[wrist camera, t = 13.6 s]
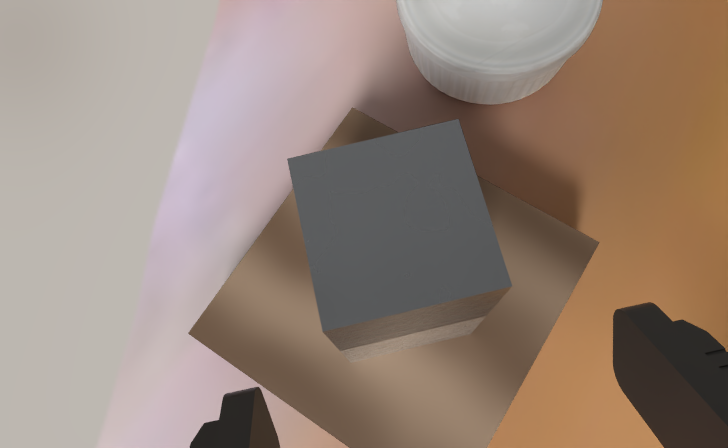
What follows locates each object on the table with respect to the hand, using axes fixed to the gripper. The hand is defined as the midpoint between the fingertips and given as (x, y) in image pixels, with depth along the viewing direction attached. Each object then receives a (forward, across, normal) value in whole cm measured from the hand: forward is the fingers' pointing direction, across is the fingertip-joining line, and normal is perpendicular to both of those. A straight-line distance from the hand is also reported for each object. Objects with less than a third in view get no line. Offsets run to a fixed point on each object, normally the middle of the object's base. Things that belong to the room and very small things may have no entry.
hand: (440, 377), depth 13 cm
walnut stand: (+16, 0, +8) cm, 18 cm away
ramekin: (+26, -9, -2) cm, 28 cm away
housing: (+13, 0, +6) cm, 14 cm away
